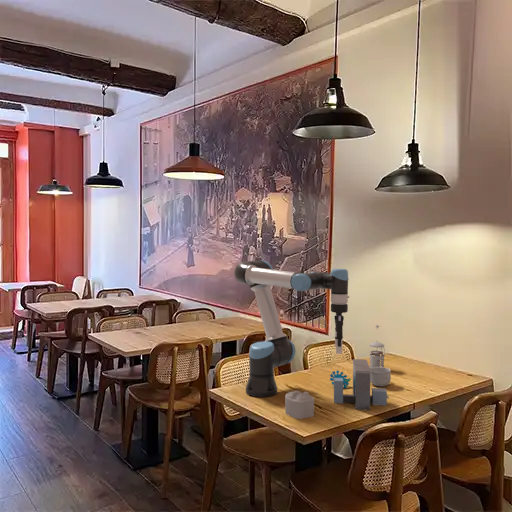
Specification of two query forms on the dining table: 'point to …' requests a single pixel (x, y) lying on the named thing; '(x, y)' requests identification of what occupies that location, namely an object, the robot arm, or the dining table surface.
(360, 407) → the block
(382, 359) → the french press
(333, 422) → the dining table surface
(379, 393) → the blue-grey u-shaped block
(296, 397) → the lumpy-topped squat cylinder
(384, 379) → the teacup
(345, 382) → the blue spiked virus model
